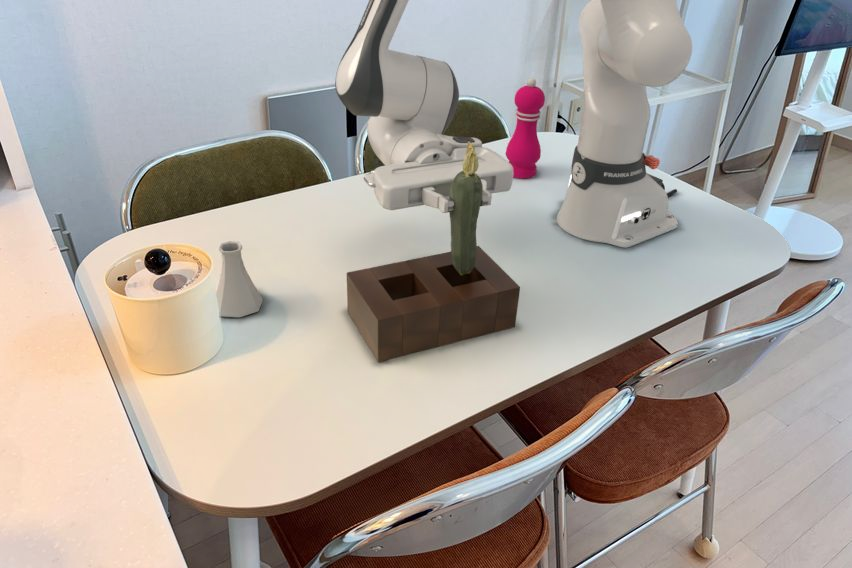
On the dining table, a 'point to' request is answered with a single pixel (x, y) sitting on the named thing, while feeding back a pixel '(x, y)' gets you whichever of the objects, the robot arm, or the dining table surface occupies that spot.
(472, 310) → the holder
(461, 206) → the vegetable
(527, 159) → the pepper mill
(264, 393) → the dining table surface
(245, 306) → the flask
